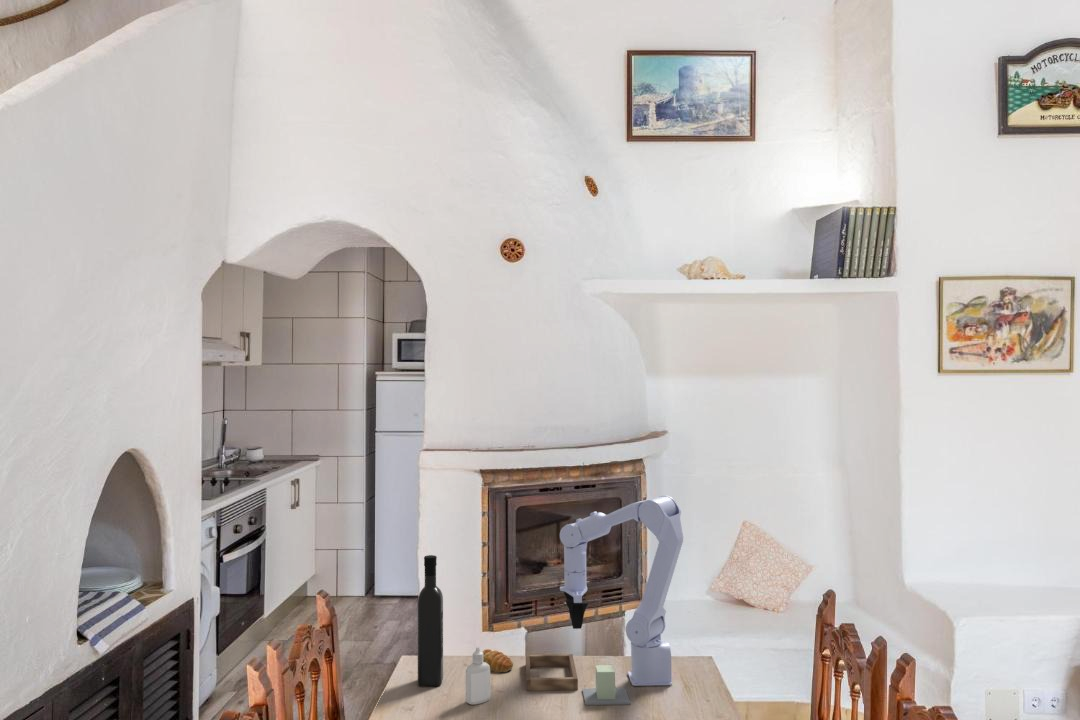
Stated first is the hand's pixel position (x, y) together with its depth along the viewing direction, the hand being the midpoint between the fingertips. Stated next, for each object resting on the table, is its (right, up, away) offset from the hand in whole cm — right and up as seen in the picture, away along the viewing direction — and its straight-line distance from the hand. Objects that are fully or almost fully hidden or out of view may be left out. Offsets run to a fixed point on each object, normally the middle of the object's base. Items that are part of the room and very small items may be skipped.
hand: (575, 623), depth 188 cm
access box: (-7, -10, -10) cm, 15 cm away
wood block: (+6, -9, -22) cm, 24 cm away
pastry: (-21, -10, -3) cm, 23 cm away
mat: (+6, -9, -22) cm, 24 cm away
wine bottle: (-36, -10, -13) cm, 39 cm away
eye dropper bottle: (-23, -9, -23) cm, 34 cm away
